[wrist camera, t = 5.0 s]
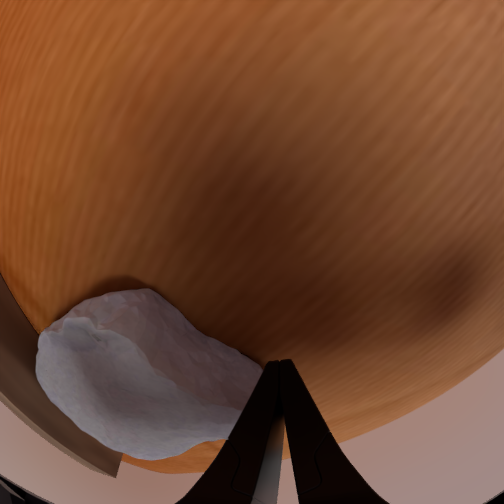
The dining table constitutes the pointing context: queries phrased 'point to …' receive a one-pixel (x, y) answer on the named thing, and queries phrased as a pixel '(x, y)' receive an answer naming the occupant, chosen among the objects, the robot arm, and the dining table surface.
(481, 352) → the dining table surface
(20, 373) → the board
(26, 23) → the dining table surface
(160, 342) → the stone block
